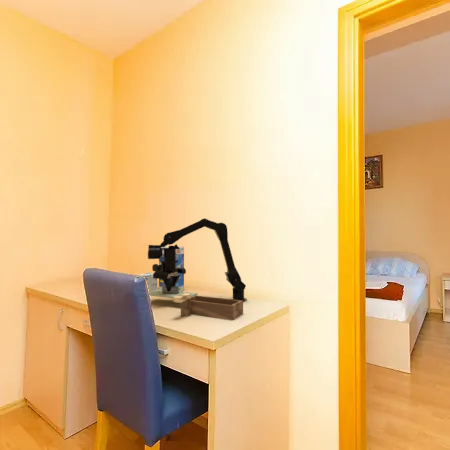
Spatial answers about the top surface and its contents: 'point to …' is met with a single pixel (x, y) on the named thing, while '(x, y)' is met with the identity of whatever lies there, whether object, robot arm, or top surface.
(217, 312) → the toolbox
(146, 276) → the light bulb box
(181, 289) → the string lights box
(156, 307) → the top surface
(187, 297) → the tan beveled box
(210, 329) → the top surface
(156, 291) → the lid
